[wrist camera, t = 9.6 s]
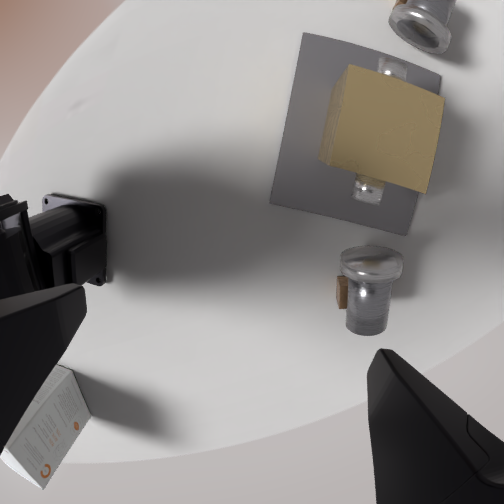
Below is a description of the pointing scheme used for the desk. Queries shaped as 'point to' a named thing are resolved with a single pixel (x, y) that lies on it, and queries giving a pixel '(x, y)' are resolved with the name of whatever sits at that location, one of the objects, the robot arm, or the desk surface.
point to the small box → (47, 428)
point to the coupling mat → (310, 136)
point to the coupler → (381, 129)
